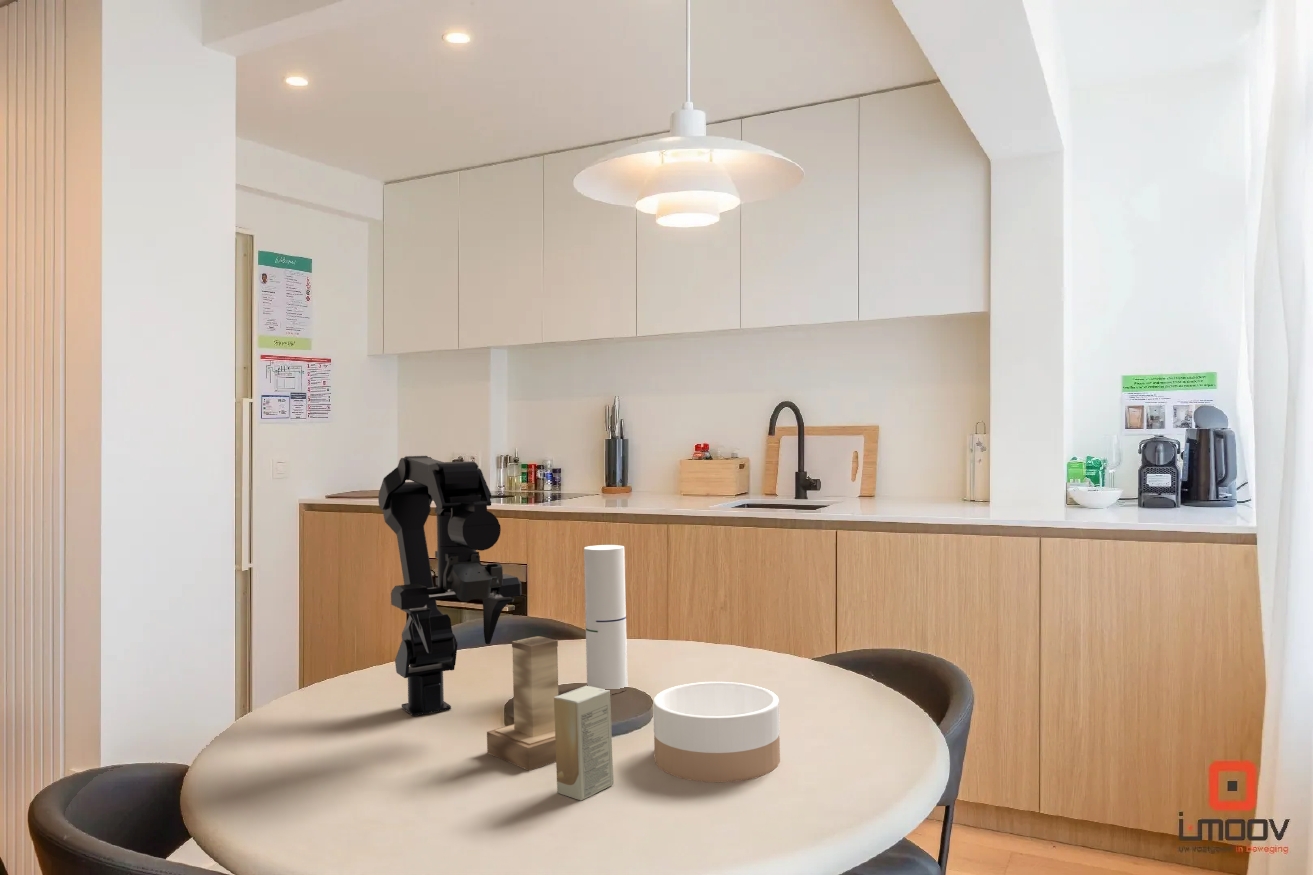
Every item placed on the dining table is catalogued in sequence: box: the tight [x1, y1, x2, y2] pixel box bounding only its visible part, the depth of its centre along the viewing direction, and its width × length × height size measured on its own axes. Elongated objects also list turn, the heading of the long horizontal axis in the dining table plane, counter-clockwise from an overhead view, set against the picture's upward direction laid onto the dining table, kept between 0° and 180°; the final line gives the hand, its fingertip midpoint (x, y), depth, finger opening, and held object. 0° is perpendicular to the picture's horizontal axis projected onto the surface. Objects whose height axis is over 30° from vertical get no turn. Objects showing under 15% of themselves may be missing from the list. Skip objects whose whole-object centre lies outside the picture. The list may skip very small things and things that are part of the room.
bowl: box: [652, 681, 781, 783], centre depth 122 cm, size 17×17×8 cm
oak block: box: [511, 635, 559, 737], centre depth 126 cm, size 5×5×12 cm
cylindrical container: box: [583, 544, 629, 689], centre depth 158 cm, size 7×7×25 cm
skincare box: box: [554, 685, 614, 801], centre depth 112 cm, size 6×4×12 cm
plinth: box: [486, 723, 556, 772], centre depth 126 cm, size 10×10×3 cm
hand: (458, 648), depth 135 cm, fingers open, 9 cm apart
